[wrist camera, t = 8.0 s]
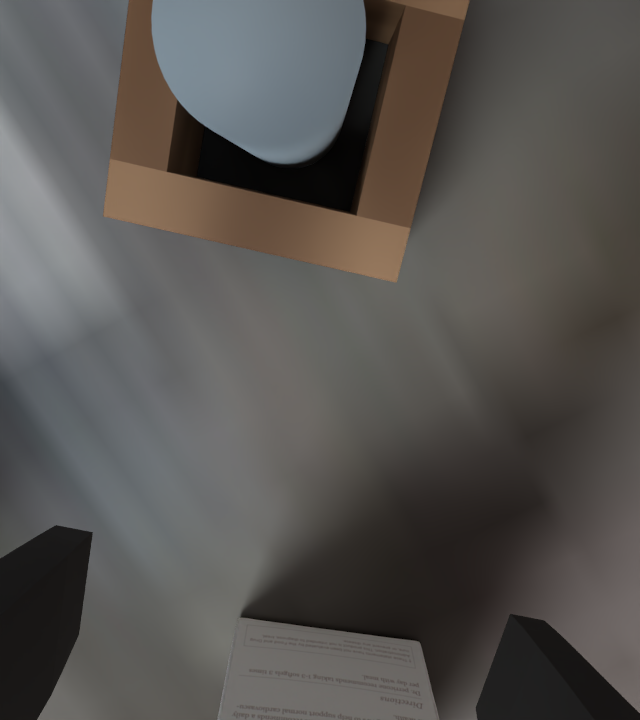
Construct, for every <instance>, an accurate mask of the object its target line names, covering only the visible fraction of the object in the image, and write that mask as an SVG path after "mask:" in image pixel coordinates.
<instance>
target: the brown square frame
mask: <svg viewBox="0 0 640 720" xmlns="http://www.w3.org/2000/svg"><path fill="white" fill-rule="evenodd" d="M469 1H470V0H363V2H364V8H365V17H366V38H365V39H369V40H373V41H377V42H381V43H385V44H388V49H387V53H386V57H385V62H384V66H383V70H382V75H381V79H380V83H379V88H378V92H377V96H376V101H375V105H374V109H373V114H372V118H371V122H370V127H369V131H368V135H367V140H366V144H365V148H364V153H363V157H362V162H361V166H360V170H359V175H358V179H357V183H356V188H355V192H354V196H353V201H352V205H351V209H350V212H348V211H343V210H339V209H335V208H330V207H326V206H322V205H317V204H313V203H309V202H305V201H300V200H296V199H292V198H287V197H283V196H279V195H274V194H270V193H266V192H261V191H257V190H253V189H248V188H244V187H240V186H235V185H231V184H227V183H222V182H218V181H214V180H210V179H205V178H201V177H197V172H198V165H199V159H200V153H201V147H202V140H203V134H204V128H205V125H203V124H202V123H200V122H199V121H198V120H197V119H195V118H194V117H193V116H192V115H191V114H190V113H189V112H188V111H187V110H186V109H185V108H184V107H183V106H182V105H181V104H180V102H179V101H178V100H177V98H176V97H175V95H174V94H173V93H172V91H171V89H170V88H169V86H168V84H167V82H166V80H165V78H164V76H163V74H162V71H161V69H160V66H159V64H158V61H157V57H156V53H155V49H154V44H153V37H152V21H151V15H152V4H153V0H129V5H128V14H127V22H126V30H125V38H124V47H123V55H122V63H121V72H120V80H119V88H118V96H117V105H116V113H115V121H114V130H113V138H112V146H111V154H110V163H109V171H108V179H107V188H106V196H105V204H104V212H103V216H104V217H109V218H113V219H117V220H122V221H126V222H131V223H135V224H140V225H144V226H148V227H153V228H157V229H162V230H166V231H171V232H175V233H179V234H184V235H188V236H193V237H197V238H202V239H206V240H210V241H215V242H219V243H224V244H228V245H233V246H237V247H241V248H246V249H250V250H255V251H259V252H264V253H268V254H272V255H277V256H281V257H286V258H290V259H295V260H299V261H303V262H308V263H312V264H317V265H321V266H326V267H330V268H334V269H339V270H343V271H348V272H352V273H357V274H361V275H366V276H370V277H374V278H379V279H383V280H388V281H392V282H397V278H398V275H399V271H400V267H401V263H402V259H403V255H404V251H405V248H406V244H407V240H408V236H409V232H410V228H411V224H412V221H413V217H414V213H415V209H416V205H417V201H418V198H419V194H420V190H421V186H422V182H423V178H424V174H425V171H426V167H427V163H428V159H429V155H430V151H431V147H432V144H433V140H434V136H435V132H436V128H437V124H438V120H439V117H440V113H441V109H442V105H443V101H444V97H445V93H446V90H447V86H448V82H449V78H450V74H451V70H452V66H453V63H454V59H455V55H456V51H457V47H458V43H459V39H460V36H461V32H462V28H463V24H464V20H465V16H466V12H467V9H468V5H469Z"/></svg>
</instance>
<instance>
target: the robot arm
mask: <svg viewBox="0 0 640 720" xmlns="http://www.w3.org/2000/svg"><path fill="white" fill-rule="evenodd" d="M92 533H93V532H88V531H83V530H78V529H72V528H67V527H62V526H57V525H56V526H54V527H52V528H50V529H49V530H47V531H45V532H44V533H42V534H40V535H38V536H37V537H35V538H33V539H32V540H30V541H28V542H27V543H25V544H23V545H22V546H20V547H19V548H17V549H15V550H14V551H12V552H10V553H9V554H7V555H5V556H4V557H2V558H0V720H37V719H38V717H39V715H40V713H41V712H42V710H43V708H44V707H45V705H46V703H47V701H48V700H49V698H50V696H51V694H52V692H53V690H54V688H55V686H56V684H57V681H58V679H59V677H60V675H61V673H62V671H63V669H64V666H65V664H66V662H67V660H68V657H69V655H70V653H71V651H72V648H73V646H74V644H75V642H76V640H77V637H78V635H79V630H80V622H81V615H82V607H83V600H84V593H85V585H86V578H87V570H88V563H89V556H90V548H91V541H92ZM476 712H477V719H478V720H640V713H639V712H638V711H637V710H636V709H635V708H634V707H632V706H631V705H630V704H629V703H628V702H627V701H626V700H625V699H624V698H623V697H622V696H621V695H620V694H619V693H618V692H617V691H616V690H615V689H614V688H613V687H612V686H611V685H610V684H609V683H608V682H607V681H606V680H605V679H604V678H603V677H602V676H601V675H600V674H599V673H598V672H597V671H596V670H595V669H594V668H593V667H592V666H591V665H590V664H589V663H588V662H587V661H586V660H585V659H584V658H583V657H582V656H581V655H580V654H579V653H578V652H577V651H576V650H575V649H574V648H573V647H572V646H571V645H570V644H569V643H568V642H567V641H566V640H565V639H564V638H563V637H562V636H561V635H560V634H559V633H558V632H557V631H556V630H554V629H553V628H552V627H551V626H550V625H549V624H548V623H546V622H545V621H543V620H538V619H533V618H528V617H523V616H518V615H513V614H510V616H509V619H508V622H507V624H506V627H505V630H504V633H503V635H502V638H501V641H500V643H499V646H498V649H497V652H496V654H495V657H494V660H493V662H492V665H491V668H490V671H489V673H488V676H487V679H486V681H485V684H484V687H483V690H482V692H481V695H480V698H479V700H478V703H477V706H476Z"/></svg>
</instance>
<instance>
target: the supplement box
mask: <svg viewBox="0 0 640 720" xmlns="http://www.w3.org/2000/svg"><path fill="white" fill-rule="evenodd" d="M218 720H439V716H438V711H437V707H436V704H435V700H434V696H433V693H432V689H431V684H430V680H429V676H428V672H427V668H426V664H425V660H424V656H423V651H422V648H421V644H420V642H418V641H413V640H405V639H397V638H388V637H381V636H373V635H366V634H359V633H351V632H344V631H336V630H329V629H321V628H314V627H306V626H299V625H292V624H285V623H278V622H270V621H263V620H255V619H249V618H238V620H237V624H236V628H235V633H234V638H233V642H232V647H231V652H230V657H229V662H228V667H227V673H226V678H225V683H224V688H223V694H222V699H221V704H220V709H219V714H218Z"/></svg>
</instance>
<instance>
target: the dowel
mask: <svg viewBox="0 0 640 720" xmlns="http://www.w3.org/2000/svg"><path fill="white" fill-rule="evenodd" d="M151 21H152V37H153V44H154V49H155V53H156V57H157V61H158V64H159V66H160V69H161V71H162V74H163V76H164V78H165V80H166V82H167V84H168V86H169V88H170V89H171V91H172V93H173V94H174V95H175V97H176V98H177V100H178V101H179V102H180V104H181V105H182V106H183V107H184V108H185V109H186V110H187V111H188V112H189V113H190V114H191V115H192V116H193V117H194V118H195V119H197V120H198V121H199V122H200V123H202V124H203V125H205V126H206V127H208V128H209V129H211V130H212V131H214V132H216V133H217V134H219V135H221V136H222V137H224V138H226V139H227V140H229V141H231V142H232V143H234V144H236V145H237V146H239V147H241V148H242V149H244V150H246V151H247V152H249V153H251V154H252V155H254V156H256V157H257V158H259V159H261V160H262V161H264V162H266V163H268V164H270V165H272V166H275V167H279V168H284V169H297V168H303V167H306V166H309V165H311V164H313V163H315V162H317V161H319V160H320V159H321V158H323V157H324V156H325V155H326V154H327V153H328V152H329V151H330V150H331V148H332V147H333V146H334V144H335V143H336V141H337V139H338V137H339V135H340V132H341V129H342V125H343V122H344V119H345V115H346V112H347V108H348V105H349V102H350V98H351V95H352V92H353V88H354V85H355V82H356V78H357V75H358V71H359V68H360V65H361V61H362V58H363V52H364V47H365V38H366V17H365V8H364V2H363V0H153V4H152V15H151Z"/></svg>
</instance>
